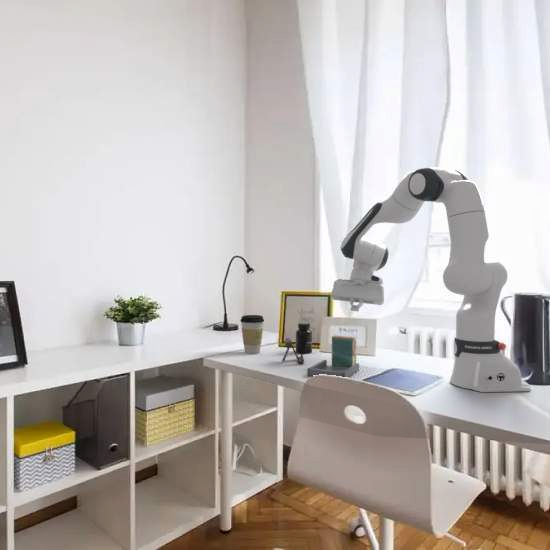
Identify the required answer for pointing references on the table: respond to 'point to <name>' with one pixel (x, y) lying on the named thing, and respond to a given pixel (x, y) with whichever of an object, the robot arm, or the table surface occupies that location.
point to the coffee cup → (252, 333)
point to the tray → (332, 370)
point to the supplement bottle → (304, 339)
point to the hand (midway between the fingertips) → (354, 310)
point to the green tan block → (343, 351)
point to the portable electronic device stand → (288, 345)
